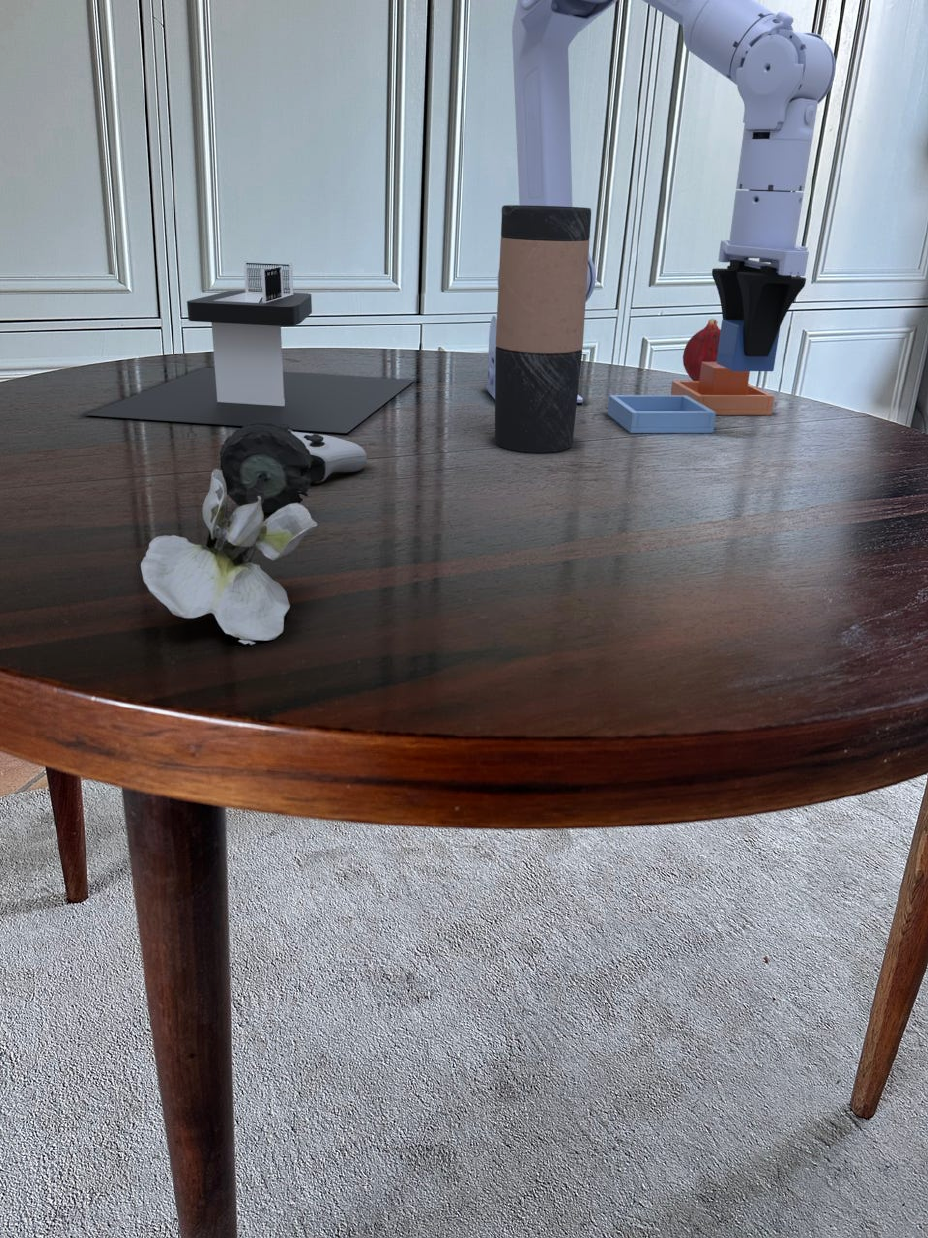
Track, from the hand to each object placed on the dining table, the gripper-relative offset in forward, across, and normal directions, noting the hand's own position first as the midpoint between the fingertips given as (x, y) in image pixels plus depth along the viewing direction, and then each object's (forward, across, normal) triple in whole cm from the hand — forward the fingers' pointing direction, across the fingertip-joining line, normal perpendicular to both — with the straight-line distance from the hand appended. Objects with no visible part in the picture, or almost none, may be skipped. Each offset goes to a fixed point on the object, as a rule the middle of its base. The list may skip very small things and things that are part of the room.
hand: (746, 351), depth 91 cm
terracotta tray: (+8, +15, -4) cm, 17 cm away
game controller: (+8, -10, +41) cm, 43 cm away
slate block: (+1, 0, 0) cm, 1 cm away
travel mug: (+8, -1, +20) cm, 22 cm away
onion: (+8, +25, -6) cm, 27 cm away
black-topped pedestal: (+8, +20, +45) cm, 50 cm away
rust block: (+8, +15, -4) cm, 17 cm away
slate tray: (+8, +7, +5) cm, 12 cm away
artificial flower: (+8, -32, +43) cm, 54 cm away
